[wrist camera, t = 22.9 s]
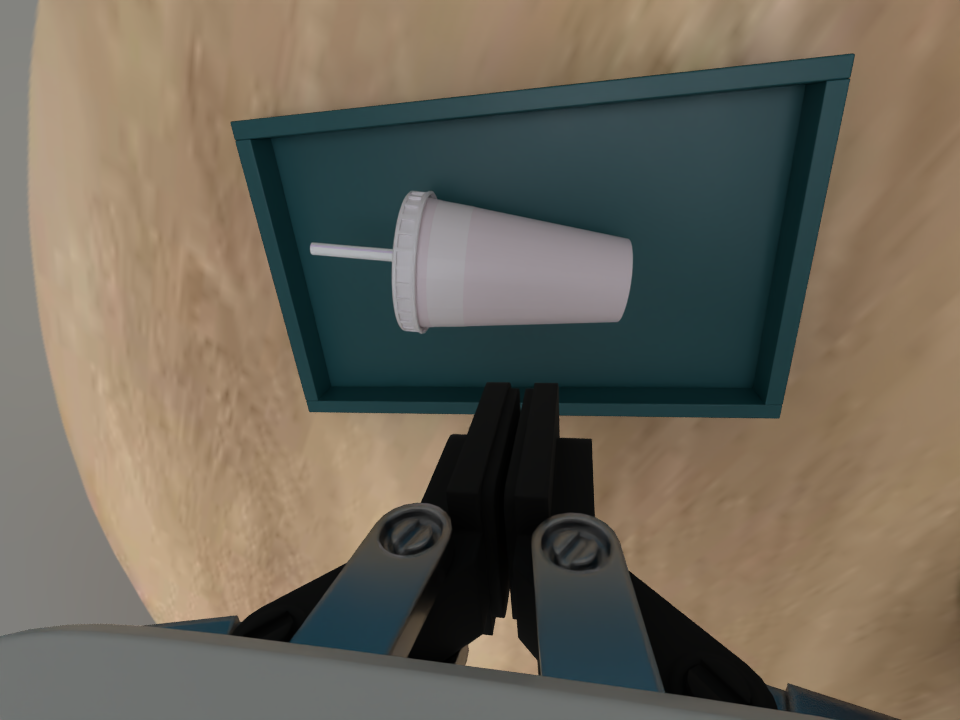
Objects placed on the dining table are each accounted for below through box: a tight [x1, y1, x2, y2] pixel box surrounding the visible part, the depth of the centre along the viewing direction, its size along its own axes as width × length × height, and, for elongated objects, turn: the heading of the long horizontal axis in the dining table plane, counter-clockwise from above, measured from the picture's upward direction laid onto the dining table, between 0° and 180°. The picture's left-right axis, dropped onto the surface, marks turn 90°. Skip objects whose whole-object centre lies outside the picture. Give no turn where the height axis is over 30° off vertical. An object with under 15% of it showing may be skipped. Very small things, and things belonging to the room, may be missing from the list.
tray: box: [231, 53, 855, 418], centre depth 24 cm, size 16×26×2 cm, turn 95°
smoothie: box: [310, 191, 633, 334], centre depth 22 cm, size 6×6×14 cm
